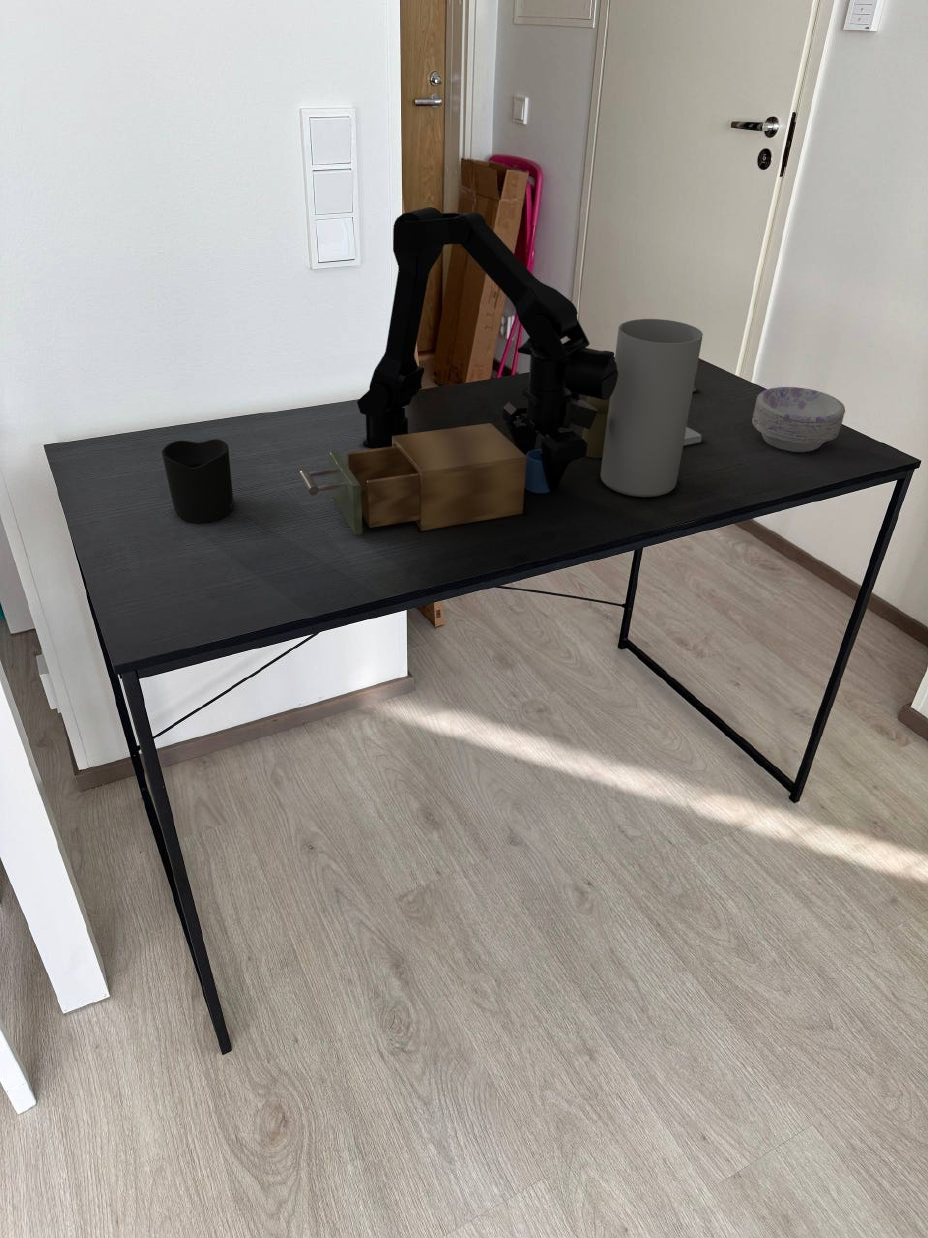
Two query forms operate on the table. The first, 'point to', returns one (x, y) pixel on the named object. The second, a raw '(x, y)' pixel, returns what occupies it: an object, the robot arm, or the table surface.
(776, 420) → the paper bowls
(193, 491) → the pen holder
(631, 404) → the cylinder vase
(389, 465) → the drawer
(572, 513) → the table surface
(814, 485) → the table surface
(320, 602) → the table surface
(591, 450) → the cork
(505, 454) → the cabinet
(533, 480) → the cup
